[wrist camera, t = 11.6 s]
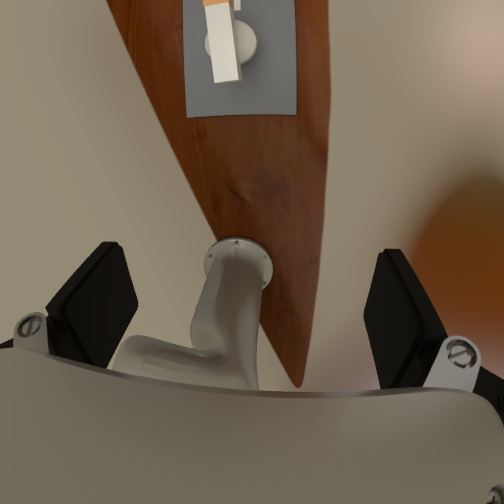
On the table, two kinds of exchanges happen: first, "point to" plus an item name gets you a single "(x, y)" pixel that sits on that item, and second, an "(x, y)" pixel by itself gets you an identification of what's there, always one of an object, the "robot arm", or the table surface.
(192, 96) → the coupling base
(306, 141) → the table surface
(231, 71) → the grey and orange blocks
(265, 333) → the table surface
